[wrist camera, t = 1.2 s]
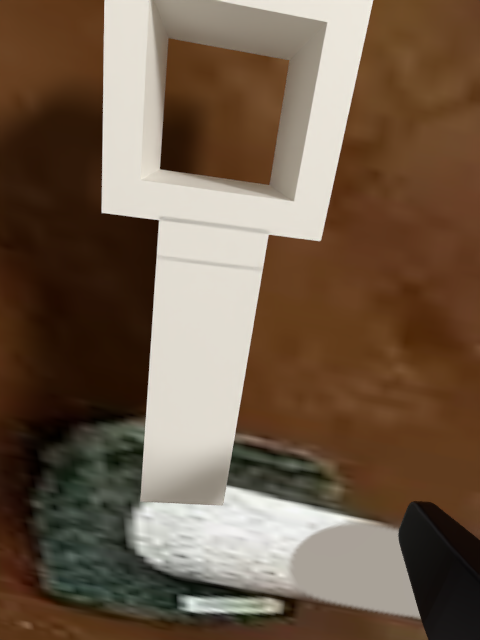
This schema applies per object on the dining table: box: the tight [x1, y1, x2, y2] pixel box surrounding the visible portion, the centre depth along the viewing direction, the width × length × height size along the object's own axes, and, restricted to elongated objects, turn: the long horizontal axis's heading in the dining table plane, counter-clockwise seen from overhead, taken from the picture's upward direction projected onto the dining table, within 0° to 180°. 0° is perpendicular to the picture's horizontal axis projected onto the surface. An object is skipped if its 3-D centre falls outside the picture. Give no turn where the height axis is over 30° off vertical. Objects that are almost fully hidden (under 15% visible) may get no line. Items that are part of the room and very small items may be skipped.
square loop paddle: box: [102, 0, 373, 505], centre depth 14 cm, size 5×13×8 cm, turn 172°
